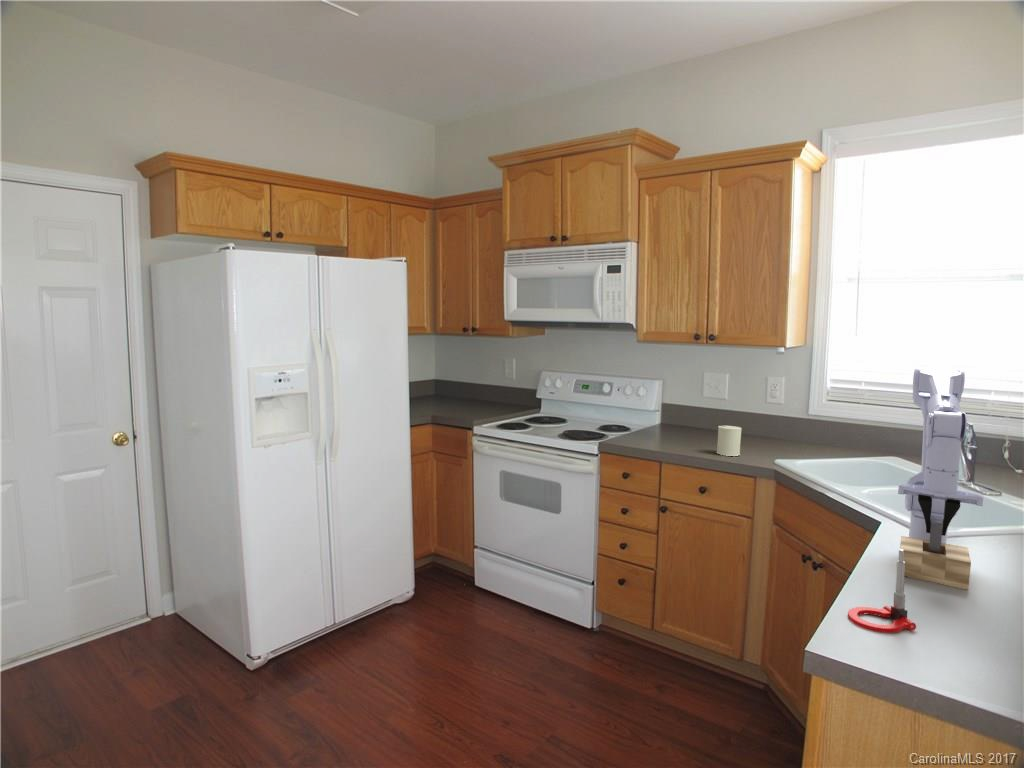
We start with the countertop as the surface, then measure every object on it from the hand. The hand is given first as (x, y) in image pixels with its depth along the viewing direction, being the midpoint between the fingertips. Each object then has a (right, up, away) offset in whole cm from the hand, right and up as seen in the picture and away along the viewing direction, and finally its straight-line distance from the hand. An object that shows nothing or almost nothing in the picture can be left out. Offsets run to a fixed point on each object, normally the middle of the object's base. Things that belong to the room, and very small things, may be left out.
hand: (935, 533), depth 131 cm
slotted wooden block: (0, -9, +1) cm, 9 cm away
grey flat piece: (0, -4, 0) cm, 4 cm away
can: (0, +2, +126) cm, 126 cm away
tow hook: (-25, -10, -23) cm, 36 cm away
